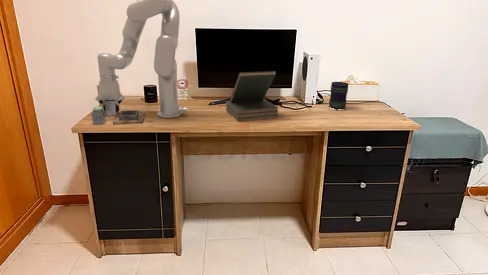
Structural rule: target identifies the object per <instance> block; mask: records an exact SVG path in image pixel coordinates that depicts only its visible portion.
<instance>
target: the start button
mask: <svg viewBox="0 0 488 275" xmlns="http://www.w3.org/2000/svg"><path fill="white" fill-rule="evenodd" d="M102 109H103V108H102V107H101V106H97V105H96V106H93V107H92V111H93V110H94V111H95V112H101V110H102Z"/></svg>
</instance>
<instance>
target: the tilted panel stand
mask: <svg viewBox="0 0 488 275" xmlns="http://www.w3.org/2000/svg"><path fill="white" fill-rule="evenodd" d="M275 76H276V71H275V70H273V71H272V70H270V71H267V70H266V71H251V72H250V71H247V72H239V73H238V76H237V77H236V78H237V79H236V82H235V84H234V87H233V89H232V93H231V96H230V97H229V98H230V99H229V100H227V101H225V112H226V111H227V113H228V114H229V115H230V116H231V117H232V116H233V117H234V118H235V119H236V120H237V121H236V120H235V119H234V118H233V117H232V118H233V119H234V120H235V121H236V122H238V121H240V122H247V121H246V120H251V121H259V119H261V120H269V118H272V119H277V118H278V116H279V114H278V112H279V107H278V106H277V105H275V104H273V103H272V102H270V101H268V100H267V99H265V98H266V95H267V93H268V91H269V89H270V88H271V84H272V82H273V81H274V79H275Z"/></svg>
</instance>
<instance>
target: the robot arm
mask: <svg viewBox="0 0 488 275" xmlns="http://www.w3.org/2000/svg"><path fill="white" fill-rule="evenodd" d="M160 14H161V16H162V17H161V19H162V20H161V25H160V26H161V27H160V28H161V29H160V36H158V38H156V42H155V46H154V48H155V49H154V59H153V60H154V61H153V69H154V71H155V73H156V74H157V82H158V83H157V84H158V97H159V98H158V99H159V111H158V112H157V114H156V115H157V116H158V117H159V118H165V119H170V118H171V119H173V118H174V119H175V118H178V117H180V116H181V115H182V112H185V113H186V112H187V111H188V109H187V107H184V106H183V107H180V106H179V100H178V99H179V98H178V97H179V96H178V64H177V63H178V62H177V61H176V59H175V58H176V51H177V48H178V46H179V32H180V31H179V30H180V11H179V8H178V6H177V4H176V2H175V1H174V0H137V1H135V2H132V3H130V4H129V5H128V6H127V7H126V16H127V17H126V21H125V24H124V26H123V29H122V31H121V32H122V38H123V39H122V45H121V48H120V50H119V52H118V53H116V54H112V53H106V52H105V53H98V54H97V56H96V58H97V64H98V73H99V80H98V85H99V94H98V93H97V96H96V97H95V101H97V102H98V104H99V103H101V104H102V105H103V109H104V111H105V114H106V109H105V101H106V100H115V102H116V113H118V114H119V112H120V104H121V103H122V102H123V101H124V100H125V99H126V97H125V96H124V95H123V94H122V93H121V90H120V89H121V88H120V85H119V81H118V80H117V79H119V75H116V70H124V69H126V68H127V67H129V66H130V65H131V64H132V62H133V60H134V59H135V58H134V57H135V55H136V52H137V49H138V45H139V43H140V42H139V41H140V38H141V36H142V34H143V31H144V28H145V26H146V23H147V20H148V19H150V18H153V17H154V16H155V17H156V16H157V15H160ZM99 98H100V99H99ZM102 100H103V101H102Z"/></svg>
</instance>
